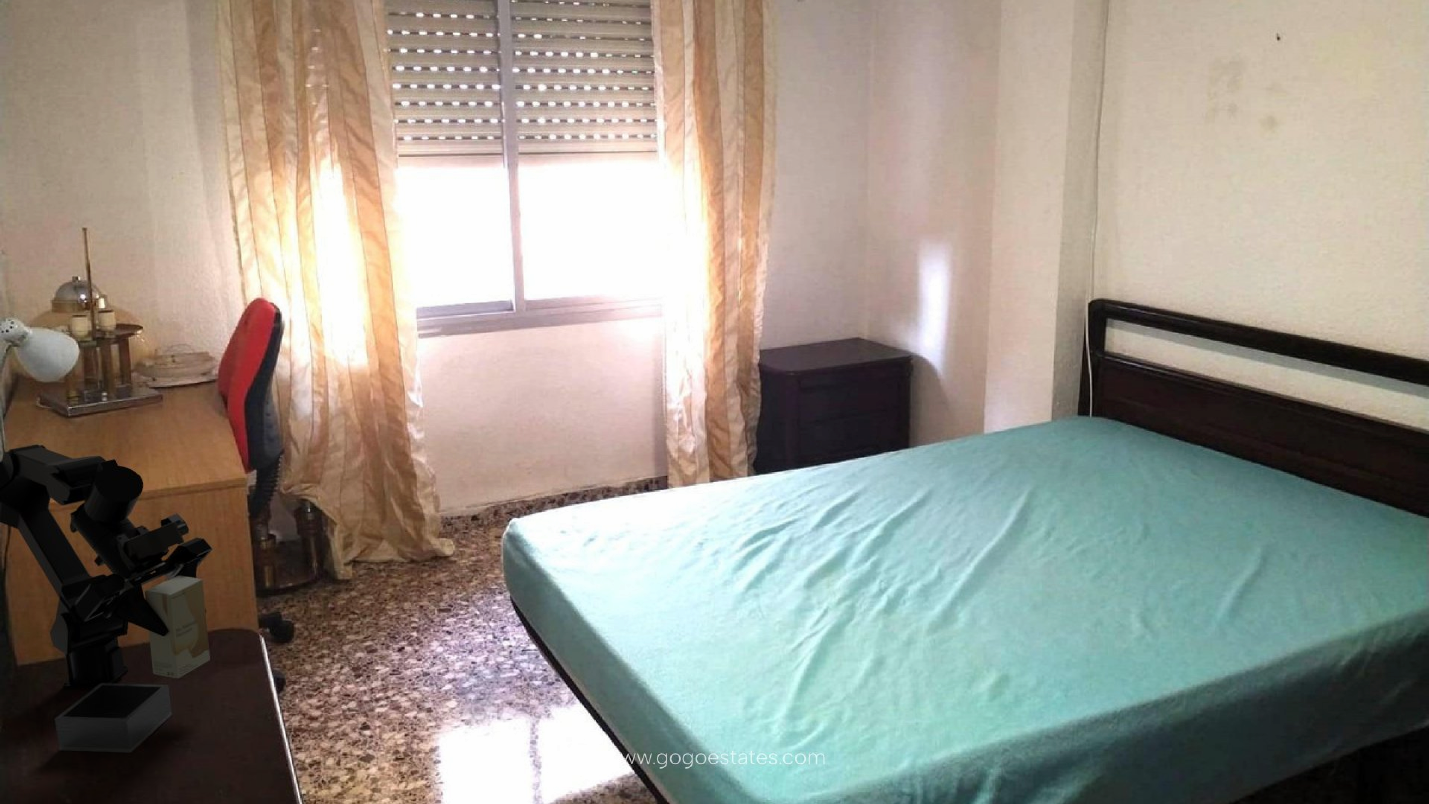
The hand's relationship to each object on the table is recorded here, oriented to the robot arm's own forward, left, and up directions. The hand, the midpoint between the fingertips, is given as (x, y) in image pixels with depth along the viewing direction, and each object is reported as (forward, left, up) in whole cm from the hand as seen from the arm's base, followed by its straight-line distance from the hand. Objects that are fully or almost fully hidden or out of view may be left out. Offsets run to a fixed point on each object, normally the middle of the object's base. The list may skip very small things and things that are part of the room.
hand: (185, 624), depth 145 cm
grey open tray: (-8, -6, -13) cm, 16 cm away
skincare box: (-1, 0, -7) cm, 7 cm away
